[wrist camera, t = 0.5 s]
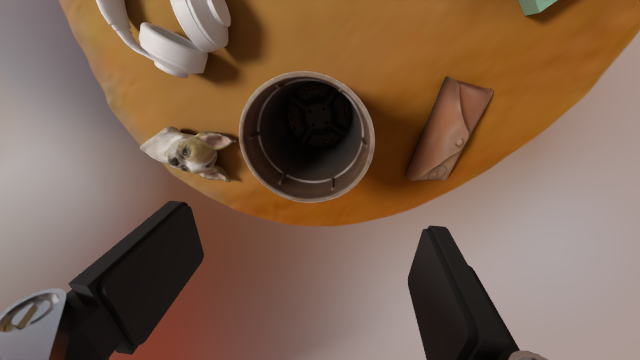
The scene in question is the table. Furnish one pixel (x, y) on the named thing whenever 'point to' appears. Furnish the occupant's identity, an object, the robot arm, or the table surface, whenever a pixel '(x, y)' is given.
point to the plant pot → (306, 137)
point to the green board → (534, 6)
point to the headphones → (175, 34)
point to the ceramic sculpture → (189, 151)
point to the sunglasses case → (448, 129)
